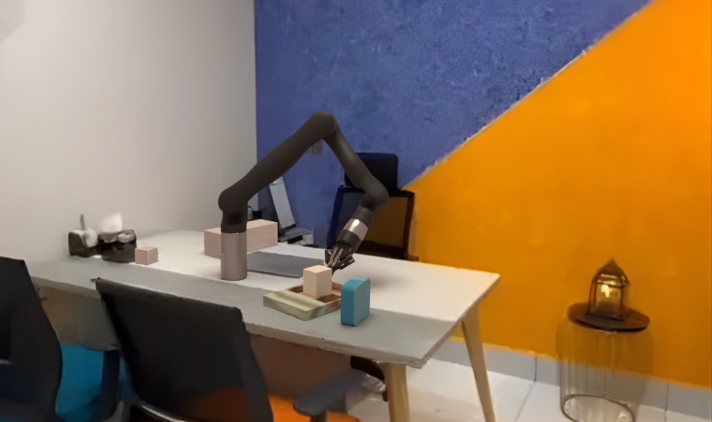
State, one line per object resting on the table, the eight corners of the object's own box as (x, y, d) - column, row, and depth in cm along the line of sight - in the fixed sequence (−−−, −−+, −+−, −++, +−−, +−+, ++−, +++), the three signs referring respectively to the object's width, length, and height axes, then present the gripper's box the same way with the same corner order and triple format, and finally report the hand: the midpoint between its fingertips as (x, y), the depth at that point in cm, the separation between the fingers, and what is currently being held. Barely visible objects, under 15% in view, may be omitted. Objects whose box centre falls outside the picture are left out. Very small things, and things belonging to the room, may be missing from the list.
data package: (356, 311, 182) (357, 274, 180) (369, 314, 181) (370, 276, 178) (340, 324, 171) (340, 285, 169) (354, 327, 170) (355, 287, 168)
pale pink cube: (158, 261, 233) (157, 247, 232) (147, 265, 227) (147, 250, 226) (146, 260, 235) (145, 245, 234) (135, 263, 230) (134, 248, 229)
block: (318, 288, 195) (318, 264, 193) (331, 292, 191) (331, 268, 189) (303, 292, 190) (303, 269, 188) (316, 297, 186) (316, 272, 184)
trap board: (321, 286, 206) (322, 278, 205) (364, 300, 193) (364, 291, 192) (263, 304, 187) (263, 295, 187) (305, 320, 174) (305, 311, 173)
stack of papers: (261, 242, 270) (260, 219, 268) (277, 246, 263) (277, 222, 261) (204, 255, 245) (203, 230, 243) (221, 260, 238) (220, 234, 236)
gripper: (333, 225, 201) (306, 267, 194) (361, 232, 192) (335, 275, 186) (343, 238, 206) (317, 279, 199) (372, 245, 197) (346, 288, 190)
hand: (326, 277), depth 192 cm, fingers closed
